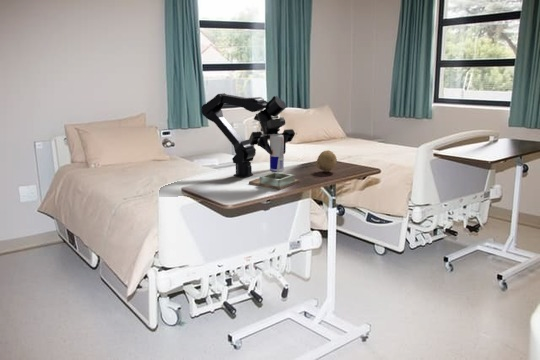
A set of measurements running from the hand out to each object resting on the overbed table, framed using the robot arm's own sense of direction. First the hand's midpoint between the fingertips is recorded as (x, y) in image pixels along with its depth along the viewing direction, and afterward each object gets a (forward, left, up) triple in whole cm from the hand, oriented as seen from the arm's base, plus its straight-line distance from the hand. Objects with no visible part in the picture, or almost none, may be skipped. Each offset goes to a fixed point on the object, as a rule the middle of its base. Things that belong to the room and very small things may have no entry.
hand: (278, 153), depth 195 cm
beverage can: (-1, +1, -8) cm, 8 cm away
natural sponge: (+5, +32, -13) cm, 35 cm away
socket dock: (-4, +3, -13) cm, 14 cm away
